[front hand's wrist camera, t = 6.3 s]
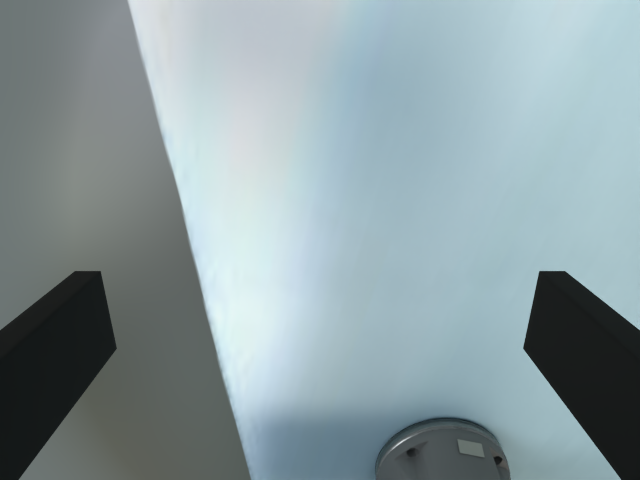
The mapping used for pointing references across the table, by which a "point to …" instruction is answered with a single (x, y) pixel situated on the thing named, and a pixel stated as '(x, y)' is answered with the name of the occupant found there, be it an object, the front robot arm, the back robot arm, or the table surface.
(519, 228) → the table surface
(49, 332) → the front robot arm
